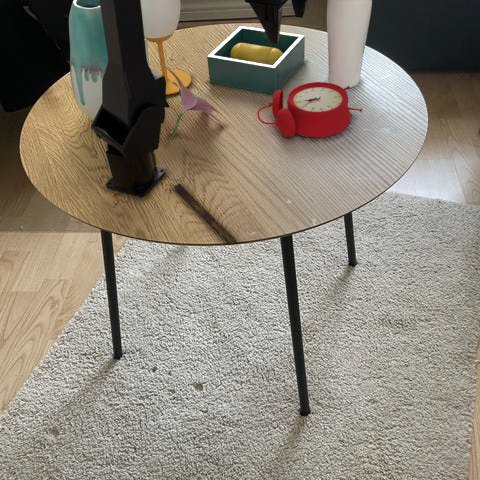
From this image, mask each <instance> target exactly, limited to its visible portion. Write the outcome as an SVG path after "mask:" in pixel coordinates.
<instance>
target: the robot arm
mask: <svg viewBox="0 0 480 480" xmlns="http://www.w3.org/2000/svg"><path fill="white" fill-rule="evenodd" d="M99 1H100V8H101V14H102V21H103V28H104V34H105V41H106V48H107V54H108V65H107V67H106V70H105V73H104V76H103V79H102V104H101V107H100V109H99V111H98V113H97V115H96V117H95V119H94V121H92V123H91V125H90V129H91V130H92V131H93V133H94V135H96V137H97V138H98V139H101V140H102V141H103V142H105V143H106V148H107V149H106V150H105V156H106V160H107V163H108V168H109V170H110V174H111V178H110V179H109V180H108V181H106V183H105V186H106V188H107V189H110V190H113V191H118V192H121V193H124V194H127V195H128V194H129V195H132V196H135V197H139V198H143V197H145V196H146V195H147V194H148V193H150V192H151V190H152V189H153V188H154V187H155V186H156V185H157V184H158V182H159V181H160V180H161V179H162V178H163V177H164V176H165V175H166V174H167V172H166V170H165V168H161V167H157V160H156V154H155V151H156V150H158V149H159V147H160V146H159V145H160V139H161V131H162V126H163V124H164V123H165V119H166V109H169V108H170V104H169V102H168V100H167V99H168V98H167V95H166V80H165V77H164V76H163V75H161V74H159V73H158V72H156V71H157V70H155V69H153V68H151V67H150V64H149V65H148V62H147V56H146V47H145V40H146V39H145V37H144V28H143V18H142V9H141V0H99ZM289 1H291V6H292V9H293V12H294V16H295V17H296V18H298V19H302V18H303V17H304V15H305V12H306V8H307V5H308V0H244V2H245V3H247V4H249V6H250V7H251V9H252V11H253V12H254V14H255V15H256V17H257V19H258V21H259V23H260V24H261V27H262V29H264V31H265V33H266V35H267V36H268V38H269V40H270V42H271V43H274V44H277V43H278V41H279V35H280V32H281V26H282V17H283V8H284V6H285V5H286V4H287V3H288V2H289Z"/></svg>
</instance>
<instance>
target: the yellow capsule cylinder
mask: <svg viewBox="0 0 480 480" xmlns="http://www.w3.org/2000/svg"><path fill="white" fill-rule="evenodd" d="M282 55H283V53H282V52H281V51H280V50H279V49H277V48H272V47H266V46H259V45H253V44H247V43H238V44H236V45H235V46H234V47H233V48H232V50H231V53H230V57H231V58H232V59H238V60H244V61H250V62H255V63H261V64H267V65H273V64H274V63H275V62H276V61H277V60H278V59H279V58H280V57H281V56H282Z"/></svg>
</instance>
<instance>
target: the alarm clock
mask: <svg viewBox="0 0 480 480" xmlns="http://www.w3.org/2000/svg"><path fill="white" fill-rule="evenodd" d="M350 89H351V88H350V86H347V88H344V89H343V88H342V87H340V86H338V85H335V84H332V83H329V82H326V81H314V82H313V81H312V82H308V83H307V82H306V83H303V84H301V85H298V86H296V87H294V88H293V89H292V90H291V91H290V92H289V93H288V96H287V99H286V105H287V107H285V108H284V91H283V89H280V90H278V91H276V92H275V93H274V94H272V101H271V102H268V104H267V105H264V106H261V107H259V109H258V110H257V113H256V114H257V115H256V116H257V119H258V120H259V121H260V123H262V124H264V125H276V127H277V130H278V131H279V133H280V134H281V135H282V136H283V137H284V138H292V137H294V136H295V135H298V136H300V137H301V136H302V137H306V138H326V137H327V138H328V137H331V136H334V135H335V136H336V135H337V134H339V133H342V132H343V131H345V130H346V129H348V127H349V125H350V124H351V121H352V118H353V114H352V112H350V111H356V112H358V111H359V112H360V113H362V112H363V108H354V107H349V95H348V93H347V90H350ZM270 107H271V112H272V116H273V117H274V118H275V121H274V122H267V121H263V120H262V118H261V117H260V112H261V111H262V110H264V109H266V108H270Z"/></svg>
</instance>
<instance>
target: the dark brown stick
mask: <svg viewBox="0 0 480 480" xmlns="http://www.w3.org/2000/svg"><path fill="white" fill-rule="evenodd" d="M173 187H174V189H175V190H176V192H177V193H178V194H179V195H180V196H181V198H183V199H184V200H185V201H186V203H188V204H189V205H190V206H191V207H192V208H193V209H195V212H197V214H199V216H200V217H202V218H203V220H204V221H205V222H207V224H208V225H211V227H212V229H214V231H215V232H217V234H219V236H220V237H221V238H223V240H224V241H225V242H226V243H227V244H228V245H229V246H232V245H235V243H236V242H237V240H236V238H235V237H234V236H233V235H232V234H231V233H230V232H229V231H228V230H227V229H226V228H225V227H224V226H223V225H222V224H221V223H219V221H217V219H215V217H213V216H212V214H210V212H208V211H207V210H206V209H205V208H204V206H203V205H201V203H200V202H199V201H198V200H196V198H194V196H192V194H190V193H189V192H188V191H187V189H186V188H185V187H184V186H183V185H182V184H181V183H178V184H177V185H175V186H173Z"/></svg>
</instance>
